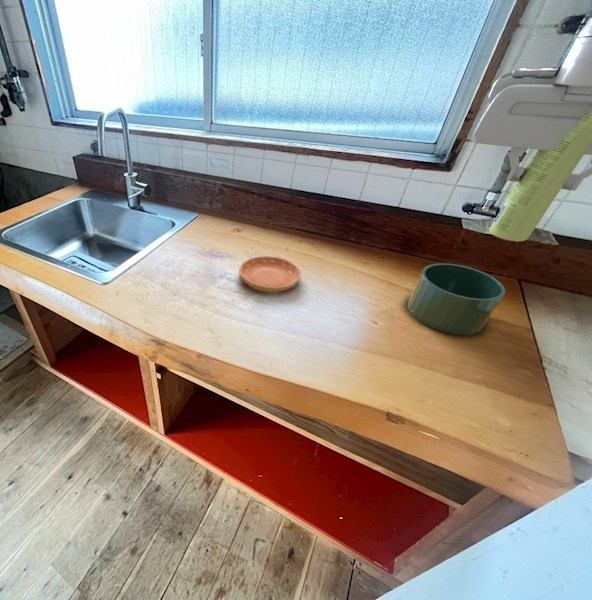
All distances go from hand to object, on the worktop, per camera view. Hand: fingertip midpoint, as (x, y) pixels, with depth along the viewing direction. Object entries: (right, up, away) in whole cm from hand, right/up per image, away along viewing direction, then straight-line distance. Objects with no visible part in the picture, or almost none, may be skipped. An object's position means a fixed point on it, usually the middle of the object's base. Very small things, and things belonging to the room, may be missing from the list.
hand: (539, 184), depth 46 cm
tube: (0, -7, +5) cm, 8 cm away
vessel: (+7, -20, +26) cm, 33 cm away
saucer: (-30, -11, +40) cm, 51 cm away
